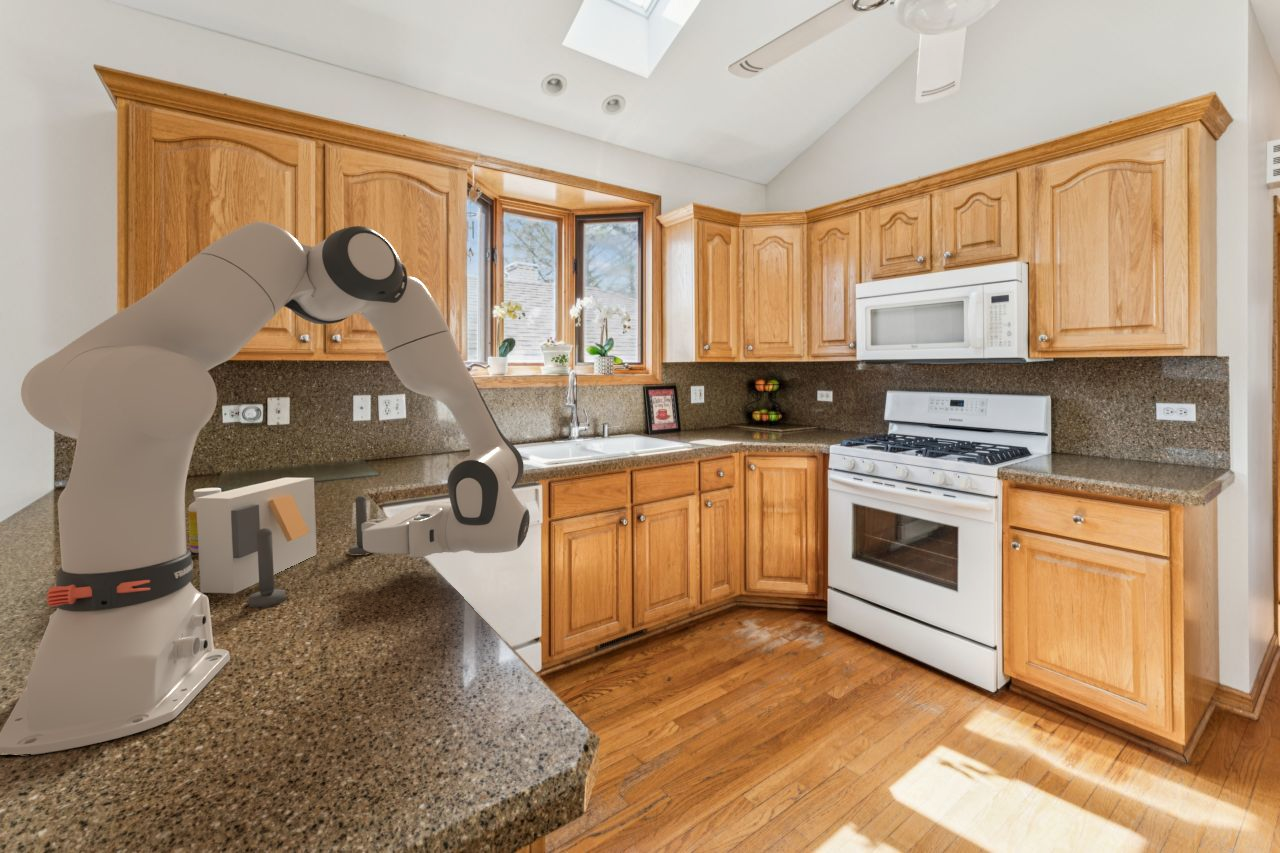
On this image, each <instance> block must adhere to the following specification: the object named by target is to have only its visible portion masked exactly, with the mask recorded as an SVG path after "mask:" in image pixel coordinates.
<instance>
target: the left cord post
mask: <svg viewBox="0 0 1280 853" xmlns="http://www.w3.org/2000/svg"><path fill="white" fill-rule="evenodd" d="M257 544H258V568H259V582H258V587H259V588H258V589H259V591H257V592H253V593H252V594H250V595H249V596H248V597H247V598H248V600H247V601H248V606H249V607H251V608H259V609H260V608H268V607H273V606H276V605H279V604H282V603H284V602H285V601H286V599H287V598H286V590H284V589H282V588H275V577H274V576H275V575H274V571H273V546H272V531H271V530H270V529H268V528H262V529H260V530H259V531H258V533H257Z"/></svg>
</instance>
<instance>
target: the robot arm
mask: <svg viewBox="0 0 1280 853" xmlns="http://www.w3.org/2000/svg"><path fill="white" fill-rule="evenodd" d="M284 307H285V308H287V309H289V310H290V311H292V313H293V314H295V315H297V316H298V317H300V318H302V319H303V320H305V321H307V322H309V323H313V324H318V325H331V324H336V323H340V322H343V321H344V320H347V318H349V317H351V316H353V315H356V314H358V313H359V315H360V316H361V317H362V318H364V319H365V320H366V321H367V322H368V323H369V324H370V325H371V326H372V327H373V328H374V330H375V332H376V333H377V336H378V338H379V339H378V340H380V344H381V346H382V349H383V351H384V353H385V356H386V357H387V360H388V362H389V365H390V367H391V368H392V371H393V372H394V373H395V375H396V377H397V378H398V380H399V381H400V382H401V384H403V385H402V386H404V387H405V388H406V389H408V390H409V391H411V392H413V393H414V394H415V393H416V394H418V395H421V396H426V397H430V398H432V399H435V400H437V401H438V402H440V403H442V404H443V405H444V406H445V407H446V408H448V410H449V412H451V414H452V416H453V418H454V420H455V421H456V423H457V425H458V427H459V429H460V430H461V433H462V434H463V437H464V439H465V440H466V442H467V444H468V448H469V455H467V456H466V457H464V459H462V460H461V461H460V462H458V463H457V464H456V465H455V466H454V467H453V468H452V469H451V470H450V473H449V475H448V477H447V484H446V486H447V492H448V498H449V501H450V502H431V503H428V504H427V505H415V506H412V507H410V508H408V509H406V510H403V511H401V512H399V513H396V514H395V515H393V516H391V517H385V518H380V519H379V518H378V519H375V518H373V519H370V520H368V521H367V522H365V523H362V525H361V529H362V532H363V534H362V537H363V549H364V550H366V551H368V552H372V553H373V554H382V555H383V554H385V555H407V554H409V557H410V558H413V559H414V558H416V559H420V558H424V557H427V556H430V555H434V554H443V553H454V554H455V553H459V552H464V551H465V552H466V551H469V552H473V553H475V554H498V553H508V552H513V551H516V550H518V549H519V548H520V547H521V545H522V544H523V543H524V541H525V539H526V537H527V534H528V532H529V527H530V526H529V525H530V520H531V519H530V518H531V517H530V516H531V515H530V511H529V509H528V508H527V507H526V506H524V505H523V504H522V503H521V500H519V498H518V497H517V496H516V495H517V494H515V492H514V490H513V489H514V488H515V487H516V486H517V485H518V484H519V482H520V481H521V480H522V477H523V474H524V469H525V468H524V461H523V460H524V459H523V458H522V455H521V453H520V452H519V450H518V449H517V448H516V446H515V445H514V444H512V443H511V441H509V440H508V439H507V438H506V436H505V435H504V434H503V432H502V431H501V430H500V428H499V426H498V424H497V422H496V420H495V418H494V416H493V414H492V413H491V410H490V409H489V406H488V405H487V402H486V401H485V399H484V397H483V395H482V393H481V391H480V389H479V387H478V386H477V384H476V382H475V381H474V379H473V377H472V375H471V373H470V371H469V370H468V367H467V366H466V364H465V361H464V360H463V358H462V356H461V353H460V350H459V348H458V346H457V344H456V340H455V339H454V337H453V334H452V332H451V330H450V328H449V326H448V323H447V321H446V319H445V317H444V315H443V313H442V311H441V310H440V308H439V305H438V304H437V302H436V300H435V299H434V297H433V296H432V294H431V293H430V291H429V290H428V289H427V286H425V284H424V282H422V281H421V280H419V279H418V278H416V277H413V276H409V275H408V273H407V268H406V266H405V264H404V263H403V262H401V258H400V256H399V255H398V253H397V251H396V250H395V248H394V247H393V246H392V244H391V243H390V242H389V241H388V240H387V239H386V238H385V237H384V236H382V234H380V233H378V232H377V231H376V230H374V229H372V228H370V227H367V226H366V227H365V226H362V225H361V226H360V225H357V226H348V227H345V228H341V229H339V230H337V231H336V230H335V231H334V232H332V233H331V234H330V235H328V236H327V238H325V239H323V240H322V241H320V242H318V243H317V244H316V245H314V246H310V245H305V244H303V243H300V242H299V241H298V239H297V238H295V237H294V235H292V234H291V233H290V232H289V231H288V230H286V229H284V228H282V227H280V226H278V225H276V224H273V223H271V222H264V221H253V222H250V223H248V224H245V225H243V226H240V227H239V228H236V229H234V230H232V231H231V232H228V233H227V234H225V235H223V236H222V237H220V238H218V239H216V240H215V241H214V242H212V243H210V244H209V245H208V246H206V247H205V248H204V249H203V250H201V251H200V252H199V253H197V254H196V255H195V256H193V257H192V258H191V259H190V260H189V261H187V262H186V263H185V264H184V265H183V266H181V267H180V268H179V269H177V270H176V271H175V272H174V273H173V274H171V275H170V277H168V278H167V279H165V280H164V281H163V282H162V283H161V284H158V286H157V287H155V288H154V289H153V290H151V291H150V292H149V293H148V294H146V295H145V296H143V297H141V298H140V299H139V300H137V301H135V302H133V303H132V304H131V305H129V306H127V307H125V308H123V309H121V310H120V311H119V312H117V313H116V314H113V315H112V316H110V317H109V318H107V319H106V320H104V321H102V322H101V323H99V324H98V325H96V326H94V327H93V328H91V329H90V330H87V332H86V333H83V334H82V335H81V336H79V337H77V338H76V339H75V340H73V341H72V342H70V343H68V344H67V345H66V346H64V347H62V349H60V350H59V351H57V352H55V353H54V354H52V355H49V357H47V358H44V359H43V360H42V361H40V362H38V363H37V364H36V365H34V366H33V367H32V368H30V370H29V371H27V373H26V374H25V376H24V378H23V380H22V383H21V388H20V396H21V401H22V403H23V406H24V407H25V409H26V411H27V412H28V414H29V415H31V417H32V418H33V419H35V420H36V421H37V422H38V423H40V424H41V425H43V426H44V427H46V428H47V429H49V430H52V431H53V432H55V433H57V434H59V435H62V436H64V437H67V438H72V439H76V445H75V451H74V457H73V460H72V461H73V462H72V465H71V470H70V473H69V477H68V481H67V482H66V485H65V487H64V489H63V490H62V491H61V493H60V495H59V498H58V500H57V513H58V514H57V515H58V517H57V518H58V531H59V543H60V545H59V546H60V547H59V548H60V560H61V562H60V563H61V567H60V568H58V570H57V571H56V580H55V582H54V586H51V587H50V588H49V589H48V590H47V592H48V593H47V594H46V597H47V598H46V601H47V602H46V603H47V604H46V605H48V607H55V609H56V610H55V611H53V613H52V614H51V615H50V616H49V622H48V624H47V626H46V629H45V630H44V633H43V636H42V638H41V641H40V643H39V646H38V649H37V651H36V654H35V656H34V659H33V661H32V664H31V667H30V670H29V672H28V676H27V679H26V686H25V688H24V690H23V691H22V693H21V695H20V697H19V699H18V700H17V702H16V703H15V705H14V708H13V709H12V711H11V713H10V714H9V716H8V718H7V720H6V721H5V723H4V725H3V726H2V729H1V730H0V753H1V754H2V753H4V754H6V753H7V754H31V755H40V754H46V753H53V752H59V751H65V750H69V749H74V748H80V747H84V746H89V745H93V744H98V743H102V742H104V743H105V742H107V741H112V740H115V739H119V738H122V737H128V736H130V735H133V734H134V735H135V734H137V733H140V732H143V731H146V730H150V729H153V728H155V727H158V726H161V725H163V724H165V723H168V722H171V721H172V720H174V719H175V718H177V717H178V716H179V715H180V713H181V712H183V710H185V708H186V707H187V706H188V705H189V704H190V703H191V702H192V701H193V699H195V698H196V696H197V695H198V694H199V693H200V692H201V691H202V690H203V689H204V688H205V687H206V686H207V685H208V684H209V683H210V681H211V680H213V678H214V677H215V676H216V675H217V674H218V673H219V672H220V671H221V670H222V668H224V667H225V666H226V665H227V664H228V662H229V661H230V660H231V656H230V652H229V650H226V649H222V648H215V647H214V639H213V628H212V617H211V610H210V608H211V607H210V601H209V597H208V595H206V594H204V593H201V591H199V590H198V589H196V587H195V586H194V585H193V584H192V582H191V581H192V580H193V578H194V576H193V574H194V572H193V568H194V561H193V559H192V552H191V550H190V549H187V532H186V531H187V530H186V501H185V499H186V498H185V497H186V494H185V493H186V484H187V479H188V478H187V477H188V472H189V468H190V465H191V464H190V463H191V460H192V456H193V452H194V450H195V449H194V448H195V445H196V441H197V439H198V436H199V434H200V431H201V430H202V429H203V428H204V427H205V425H207V423H208V422H209V421H211V418H212V417H213V415H214V413H215V411H216V406H217V404H218V403H217V402H218V392H217V387H216V383H215V381H214V379H213V377H212V375H211V374H210V372H209V371H210V370H212V369H213V368H215V367H216V366H219V365H221V364H223V363H225V362H228V361H229V360H230V359H233V358H234V357H235V356H236V355H237V354H238V353H239V352H240V351H241V350H242V349H244V347H245V346H246V345H247V344H248V343H249V342H250V341H251V340H252V339H253V338H254V337H255V336H256V335H257V334H258V333H259V332H260V331H261V330H262V329H263V328H264V327H265V326H266V325H267V324H268V323H269V322H270V321H271V320H272V319H273V318H274V317H275V316H276V315H277V314H278V313H279V312H280V311H281V310H282V308H284Z"/></svg>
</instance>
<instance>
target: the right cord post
mask: <svg viewBox="0 0 1280 853" xmlns="http://www.w3.org/2000/svg"><path fill="white" fill-rule="evenodd" d="M367 518H368V516H367V498H366V496H364V495H362V494H361V495H358V496H357V497H356V498H355V526H356V527H355V528H356V544H354V545H352V546H349V547H348V554H349V553H350V554H366V553H370V552H368V551H366V550H364V549H363V537H362V534H363V532H362V529H361V525H362V523H365V522H367V520H368V519H367Z"/></svg>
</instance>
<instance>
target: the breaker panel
mask: <svg viewBox="0 0 1280 853" xmlns="http://www.w3.org/2000/svg"><path fill="white" fill-rule="evenodd" d="M287 495H292V497H293V499H294V501H295V503H296V505H297V507H298V510H299V512H300V514H301V516H302V518H303V520H304V522H305V524H306V526H307V528H308V530H309V532H310V533H308V534H306V535H304V536H301V537H299V538H296V539H294V540H291V541H289V542H287V540H286V538H285V536H284V534H283V532H282V530H281V528H280V526H279V524H278V522H277V519H276V517H275V515H274V513H273V511H272V509H271V507H270V505H269V503H268V502H269V501H271V500H273V499H276V498H280V497H284V496H287ZM315 497H316V495H315V477H281V478H277V479H273V480H268V481H265V482H260V483H256V484H251V485H247V486H242V487H238V488H233V489H229V490H224V491H221V492H220V493H215V494H211V495H207V496H202V497H198V498H196V510H197V530H198V550H199V553H198V566H199V567H198V569H199V585H200V587H199V588H200V591H199V592H201V593H202V594H204V593H205V594H207V593H209V594H237V593H239V592H241V591H244V590H245V589H249V588H250V587H252V586H254V585H256V584H259V568H258V551H257V552H254V553H252V554H249V555H247V556H244V557H241V558H233V537H232V515H231V511H232V510H235V509H239V508H243V507H246V506H250V505H259V519H260V529H262V528H268V529H270V530H271V531H272V546H273V571H274V576H275V574H276V575H277V573H278V574H280V573H282V572H285V571H286V570H285V569H287V568H289V569H290V567H291V566H293V567H295V566H297V565H299V564H298V563H300V562H302V561H304V560H306V559H308V558H310V557H313V556H315V555H316V554H317V532H316V531H317V530H316V527H317V526H316V524H317V523H316V503H315V502H316V501H315V499H316V498H315ZM315 557H316V556H315ZM313 558H314V557H313ZM310 559H311V558H310ZM308 560H309V559H308ZM306 561H307V560H306ZM304 562H305V561H304ZM302 563H303V562H302ZM296 564H297V565H296ZM300 564H301V563H300ZM294 565H295V566H294ZM291 568H292V567H291ZM287 570H288V569H287ZM281 571H282V572H281ZM279 572H280V573H279Z"/></svg>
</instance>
